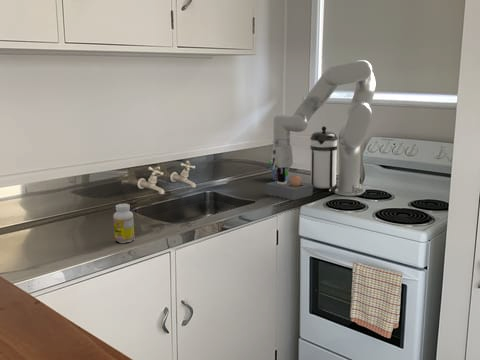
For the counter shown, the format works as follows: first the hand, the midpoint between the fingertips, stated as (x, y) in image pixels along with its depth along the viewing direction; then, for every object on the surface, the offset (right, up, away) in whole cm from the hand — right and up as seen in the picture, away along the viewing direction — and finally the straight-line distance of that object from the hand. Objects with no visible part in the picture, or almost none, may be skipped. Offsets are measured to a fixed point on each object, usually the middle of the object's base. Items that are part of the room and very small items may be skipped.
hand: (281, 181), depth 251 cm
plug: (0, -5, +1) cm, 5 cm away
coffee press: (+21, -3, +10) cm, 23 cm away
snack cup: (+2, +1, +30) cm, 30 cm away
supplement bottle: (-59, -21, -64) cm, 89 cm away
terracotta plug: (+6, -3, -6) cm, 9 cm away
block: (+3, -6, -2) cm, 7 cm away
